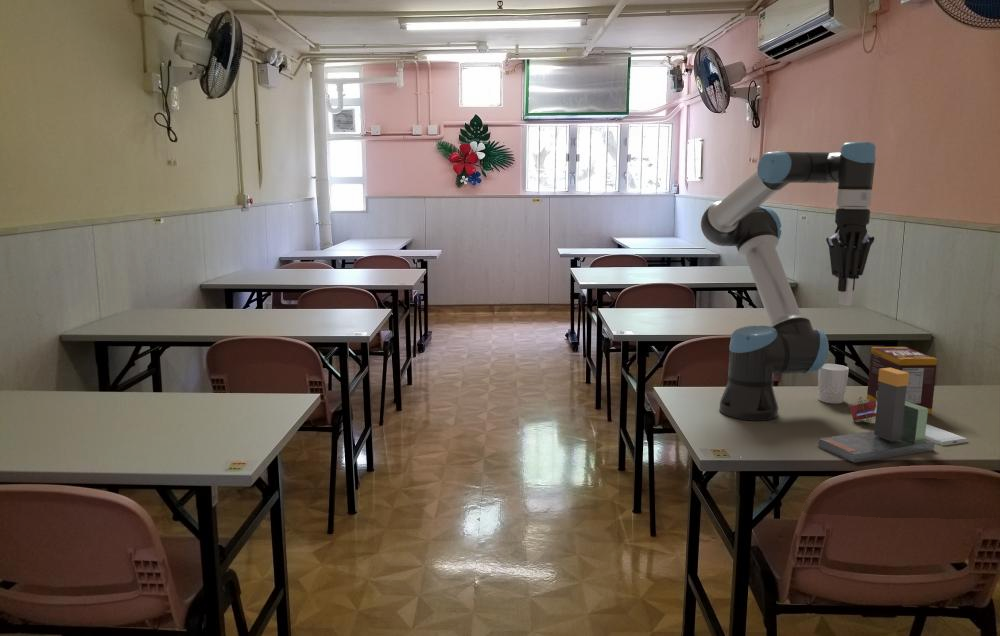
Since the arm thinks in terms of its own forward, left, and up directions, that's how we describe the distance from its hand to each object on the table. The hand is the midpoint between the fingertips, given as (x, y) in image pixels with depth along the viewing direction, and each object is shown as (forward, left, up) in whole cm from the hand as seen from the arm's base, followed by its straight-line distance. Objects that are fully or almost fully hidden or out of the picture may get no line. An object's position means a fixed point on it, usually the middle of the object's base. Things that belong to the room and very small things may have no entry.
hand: (844, 304), depth 184 cm
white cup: (-4, +28, -33) cm, 43 cm away
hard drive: (+22, +8, -33) cm, 41 cm away
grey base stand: (+10, -9, -32) cm, 35 cm away
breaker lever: (+12, -7, -30) cm, 33 cm away
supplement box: (+13, +32, -33) cm, 48 cm away
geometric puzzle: (+6, +11, -33) cm, 35 cm away
